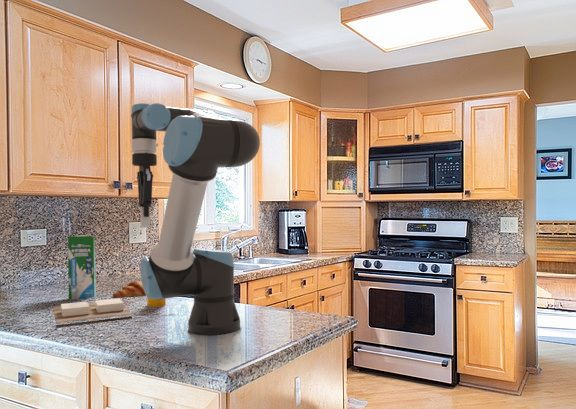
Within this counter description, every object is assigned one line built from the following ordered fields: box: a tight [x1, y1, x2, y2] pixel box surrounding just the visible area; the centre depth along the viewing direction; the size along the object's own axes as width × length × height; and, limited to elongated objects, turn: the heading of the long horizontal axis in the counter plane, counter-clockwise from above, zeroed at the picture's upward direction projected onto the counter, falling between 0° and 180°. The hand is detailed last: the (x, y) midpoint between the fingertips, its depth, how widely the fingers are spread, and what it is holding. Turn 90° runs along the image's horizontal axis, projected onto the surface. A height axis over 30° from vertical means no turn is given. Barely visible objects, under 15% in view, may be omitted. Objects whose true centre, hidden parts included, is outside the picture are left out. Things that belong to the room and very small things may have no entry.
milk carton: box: [67, 235, 97, 301], centre depth 188 cm, size 9×9×25 cm
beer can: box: [146, 296, 167, 308], centre depth 167 cm, size 6×6×15 cm
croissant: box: [112, 280, 146, 298], centre depth 190 cm, size 21×10×8 cm, turn 137°
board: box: [52, 302, 133, 329], centre depth 160 cm, size 26×22×2 cm
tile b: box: [94, 297, 125, 313], centre depth 161 cm, size 3×8×9 cm
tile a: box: [60, 301, 90, 317], centre depth 156 cm, size 3×8×9 cm
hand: (145, 227), depth 153 cm, fingers closed
